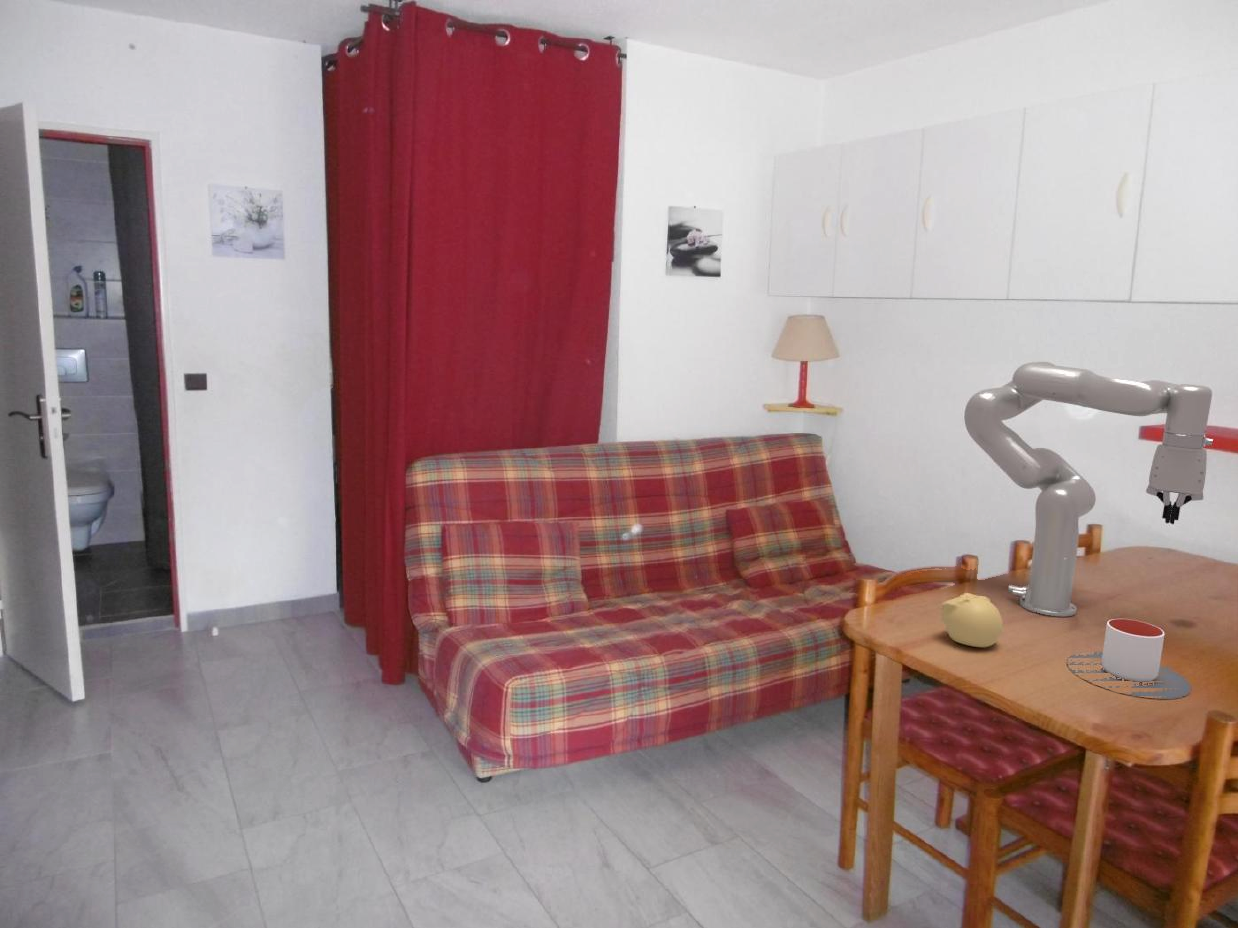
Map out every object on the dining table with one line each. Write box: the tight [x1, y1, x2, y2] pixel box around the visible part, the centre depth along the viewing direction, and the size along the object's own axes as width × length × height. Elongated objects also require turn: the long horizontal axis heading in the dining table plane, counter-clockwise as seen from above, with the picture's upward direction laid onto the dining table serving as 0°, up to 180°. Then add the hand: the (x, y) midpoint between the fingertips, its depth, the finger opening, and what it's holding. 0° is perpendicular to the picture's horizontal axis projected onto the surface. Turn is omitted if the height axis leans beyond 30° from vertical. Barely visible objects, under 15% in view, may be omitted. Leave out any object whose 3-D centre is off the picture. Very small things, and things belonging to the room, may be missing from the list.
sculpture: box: [940, 592, 1004, 648], centre depth 186 cm, size 12×12×11 cm
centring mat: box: [1066, 651, 1192, 700], centre depth 172 cm, size 22×22×1 cm
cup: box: [1102, 618, 1165, 682], centre depth 171 cm, size 10×10×10 cm
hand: (1169, 522), depth 188 cm, fingers closed
